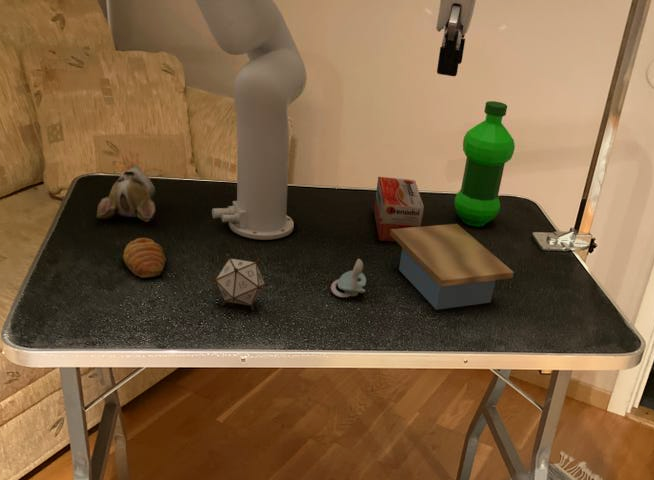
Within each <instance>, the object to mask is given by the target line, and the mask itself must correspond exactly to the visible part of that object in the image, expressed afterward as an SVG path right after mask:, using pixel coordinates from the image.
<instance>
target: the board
mask: <svg viewBox="0 0 654 480" xmlns="http://www.w3.org/2000/svg"><path fill="white" fill-rule="evenodd" d="M390 236H391V237H392V238H393V239H394V240H395V242H396V243H397V244H398V245H399V246H400V247H401V249H402V248H403V249H404V250H405V251H406V252H407V253H408V254H409V255H410V256H411V257H412V258H413V259H414V260H415V261H416V262H417V263H418V264H419V265H420V266H421V267H422V268H423V269H424V270H425V271H426V272H427V273H428V274H429V275H430V276H431V277H432V278H433V279H434V280H435V281H436V282H437V283H438V284H439V285H440V286H441V287H443V286H451V285H460V284H468V283H476V282H485V281H493V280H495V281H499V280H500V281H501V280H508V279H513V277H514V273H515V272H514V271H513V270H512V269H510V267H509V266H507V265H506V264H505V263H503V261H501V259H499V258H498V257H497V256H495V254H494V253H492V252H491V251H490V250H488V249H487V248H486V247H485V246H484V245H483V244H482V243H480V242H479V241H478V240H477V239H476V238H475V237H473V236H472V235H471V234H470V233H468V232H467V231H466V230H465V229H464V228H462V226H460V225H459V224H458V223H448V224H435V225H425V226H424V225H423V226H421V227H411V228H399V229H391V231H390Z"/></svg>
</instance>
